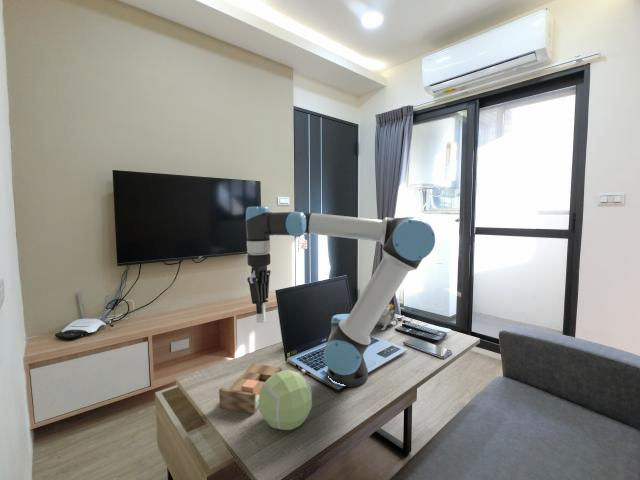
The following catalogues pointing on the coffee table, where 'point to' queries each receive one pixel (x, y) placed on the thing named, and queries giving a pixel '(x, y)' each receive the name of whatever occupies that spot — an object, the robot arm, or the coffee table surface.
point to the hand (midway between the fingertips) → (261, 321)
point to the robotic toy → (387, 316)
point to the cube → (251, 387)
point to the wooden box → (246, 400)
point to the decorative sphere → (285, 400)
